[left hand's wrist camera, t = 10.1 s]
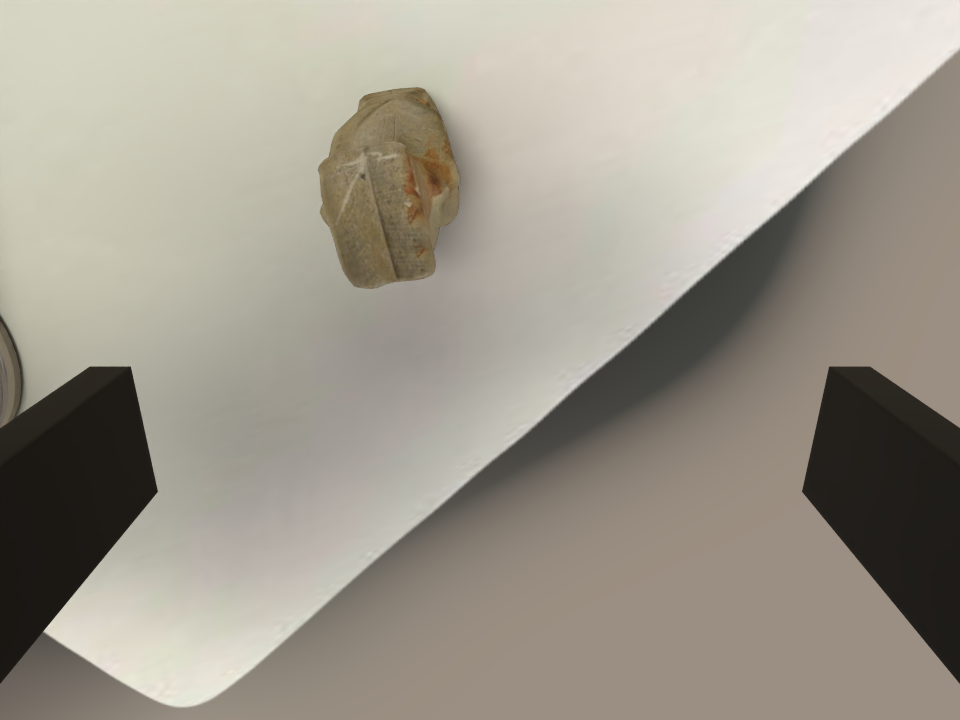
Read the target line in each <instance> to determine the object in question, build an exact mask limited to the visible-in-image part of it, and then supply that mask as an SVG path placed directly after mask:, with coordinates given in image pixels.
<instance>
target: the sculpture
mask: <svg viewBox="0 0 960 720" xmlns="http://www.w3.org/2000/svg"><path fill="white" fill-rule="evenodd" d="M318 171H319V174H320V185H321V197H322V201H323V204H322V206H321V210H320V214H321V216H322V218H323V220H324V221H325V222H326V224H327V225H328V226H329V227H330V230H331V233H332V236H333V239H334V243H335V246H336V250H337V253H338V257H339V260H340V263H341V266H342V269H343V271H344V273H345V275H346V276H347V278H348V279H349V281H350V282H351V283H352V284H353V285H354V286H355V287H359V288H366V289H373V288H378V287H380V286H383V285H385V284H388V283H392V282H400V281H410V280H418V279H423V278H426V277H428V276H430V275H432V274H433V273H434V272H435V268H436V267H435V257H434V248H435V245H436V242H437V239H438V234H439V228H440V227H441V226H445V225H448V224H449V223H450V222H451V221H452V220H453V219H454V218H455V216H456V215H457V212H458V208H459V192H458V186H459V184H460V180H461V177H460V174H459V171H458V169H457V166H456V163H455V160H454V157H453V155H452V151H451V147H450V143H449V139H448V136H447V132H446V129H445V126H444V123H443V121H442V118H441V116H440V114H439V112H438V110H437V108H436V105H435V104H434V102H433V101H432V99H431V97H430V96H429V94H428V93H427V92H426V91H425V90H424V89H422V88H418V87H416V88H402V89H393V90H388V91H382V92H377V93H372V94H368V95H365V96H364V97H362V99H361V100H360V101H359V107H358V112H357V113H356V114H355V115H354V116H353V117H352V118H351V119H349V120H348V121H347V122H346V123H345V124H344V125H343V126H342V127H341V128H340V129H339V130H338V131H337V132H336V134H335V135H334V138H333V140H332V144H331V149H330V154H329V157H328V158H327V159H325V160H324V161H323V162H322V163H321V164H320V166H319V168H318Z"/></svg>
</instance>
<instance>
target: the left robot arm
mask: <svg viewBox="0 0 960 720" xmlns="http://www.w3.org/2000/svg"><path fill="white" fill-rule="evenodd" d="M20 394H21V375H20V369H19V363H18V359H17V356H16V352H15V350H14V347H13V344H12V342H11V339H10V337H9V335H8V333H7V331H6V329H5V328H4V326H3V324H2V322H1V321H0V683H1V682H2V681H3V680H4V678H5V677H6V676H7V675H8V674H9V672H10V671H11V670H12V669H13V667H14V666H15V665H16V664H17V663H18V661H19V660H20V659H21V658H22V657H23V655H24V654H25V653H26V652H27V650H28V649H29V648H30V647H31V646H32V644H33V643H34V642H35V641H36V639H37V638H38V637H39V636H40V635H41V633H42V632H43V631H44V630H45V629H46V627H47V626H48V625H49V624H50V622H51V621H52V620H53V619H54V618H55V616H56V615H57V614H58V613H59V611H60V610H61V609H62V608H63V607H64V605H65V604H66V603H67V602H68V601H69V599H70V598H71V597H72V596H73V594H74V593H75V592H76V591H77V590H78V588H79V587H80V586H81V585H82V583H83V582H84V581H85V580H86V579H87V577H88V576H89V575H90V574H91V573H92V571H93V570H94V569H95V568H96V566H97V565H98V564H99V563H100V562H101V560H102V559H103V558H104V557H105V555H106V554H107V553H108V552H109V551H110V549H111V548H112V547H113V546H114V545H115V543H116V542H117V541H118V540H119V538H120V537H121V536H122V535H123V534H124V532H125V531H126V530H127V529H128V527H129V526H130V525H131V524H132V523H133V521H134V520H135V519H136V518H137V517H138V515H139V514H140V513H141V512H142V510H143V509H144V508H145V507H146V506H147V504H148V503H149V502H150V501H151V499H152V498H153V497H154V496H155V495H156V493H157V492H158V490H157V485H156V481H155V476H154V472H153V467H152V462H151V458H150V453H149V449H148V444H147V439H146V435H145V430H144V426H143V421H142V416H141V412H140V407H139V402H138V398H137V393H136V389H135V384H134V379H133V375H132V370H131V367H89V368H87V369H86V370H84V371H83V372H81V373H80V374H79V375H77V376H76V377H74V378H73V379H71V380H70V381H68V382H67V383H65V384H64V385H62V386H61V387H60V388H58V389H57V390H55V391H54V392H52V393H51V394H49V395H48V396H46V397H45V398H43V399H42V400H41V401H39V402H38V403H36V404H35V405H33V406H32V407H30V408H29V409H27V410H26V411H24V412H23V413H22V414H20V415H19V416H17V417H16V418H14V417H15V415H16V412H17V409H18V406H19V401H20ZM802 492H803V493H804V495H805V496H806V497H807V498H808V499H809V501H810V502H811V503H812V504H813V506H814V507H815V508H816V509H817V510H818V512H819V513H820V514H821V515H822V517H823V518H824V519H825V520H826V521H827V523H828V524H829V525H830V526H831V527H832V529H833V530H834V531H835V532H836V534H837V535H838V536H839V537H840V538H841V540H842V541H843V542H844V543H845V545H846V546H847V547H848V548H849V549H850V551H851V552H852V553H853V554H854V555H855V557H856V558H857V559H858V560H859V562H860V563H861V564H862V565H863V566H864V568H865V569H866V570H867V571H868V573H869V574H870V575H871V576H872V577H873V579H874V580H875V581H876V582H877V583H878V585H879V586H880V587H881V588H882V590H883V591H884V592H885V593H886V594H887V596H888V597H889V598H890V599H891V601H892V602H893V603H894V604H895V605H896V607H897V608H898V609H899V610H900V611H901V613H902V614H903V615H904V616H905V618H906V619H907V620H908V621H909V622H910V624H911V625H912V626H913V627H914V629H915V630H916V631H917V632H918V633H919V635H920V636H921V637H922V638H923V639H924V641H925V642H926V643H927V644H928V646H929V647H930V648H931V649H932V650H933V652H934V653H935V654H936V655H937V657H938V658H939V659H940V660H941V661H942V663H943V664H944V665H945V666H946V667H947V669H948V670H949V671H950V672H951V674H952V675H953V676H954V677H955V678H956V680H957V681H958V682H959V683H960V428H959V427H957V426H956V425H954V424H953V423H952V422H950V421H949V420H947V419H946V418H944V417H943V416H941V415H940V414H938V413H937V412H935V411H934V410H933V409H931V408H930V407H928V406H927V405H925V404H924V403H922V402H921V401H919V400H918V399H917V398H915V397H914V396H912V395H911V394H909V393H908V392H906V391H905V390H903V389H902V388H900V387H899V386H897V385H896V384H895V383H893V382H892V381H890V380H889V379H887V378H886V377H884V376H883V375H881V374H880V373H879V372H877V371H876V370H874V369H873V368H871V367H829V370H828V375H827V379H826V384H825V389H824V393H823V398H822V403H821V407H820V412H819V416H818V421H817V426H816V430H815V435H814V440H813V444H812V449H811V453H810V458H809V462H808V467H807V472H806V476H805V481H804V486H803V490H802Z"/></svg>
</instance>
